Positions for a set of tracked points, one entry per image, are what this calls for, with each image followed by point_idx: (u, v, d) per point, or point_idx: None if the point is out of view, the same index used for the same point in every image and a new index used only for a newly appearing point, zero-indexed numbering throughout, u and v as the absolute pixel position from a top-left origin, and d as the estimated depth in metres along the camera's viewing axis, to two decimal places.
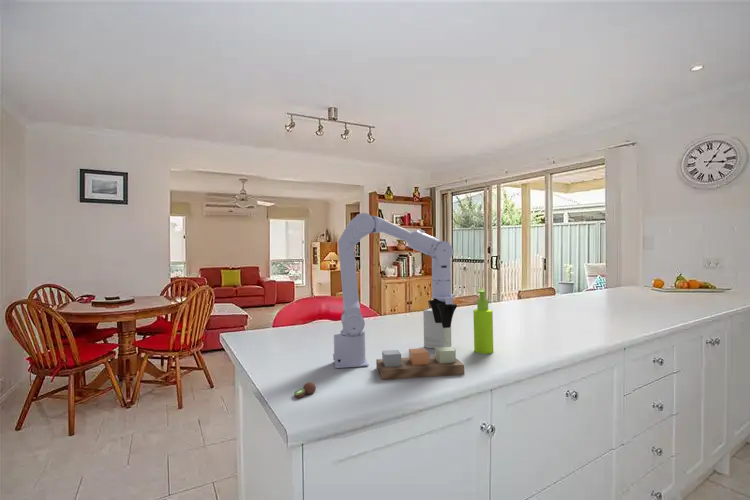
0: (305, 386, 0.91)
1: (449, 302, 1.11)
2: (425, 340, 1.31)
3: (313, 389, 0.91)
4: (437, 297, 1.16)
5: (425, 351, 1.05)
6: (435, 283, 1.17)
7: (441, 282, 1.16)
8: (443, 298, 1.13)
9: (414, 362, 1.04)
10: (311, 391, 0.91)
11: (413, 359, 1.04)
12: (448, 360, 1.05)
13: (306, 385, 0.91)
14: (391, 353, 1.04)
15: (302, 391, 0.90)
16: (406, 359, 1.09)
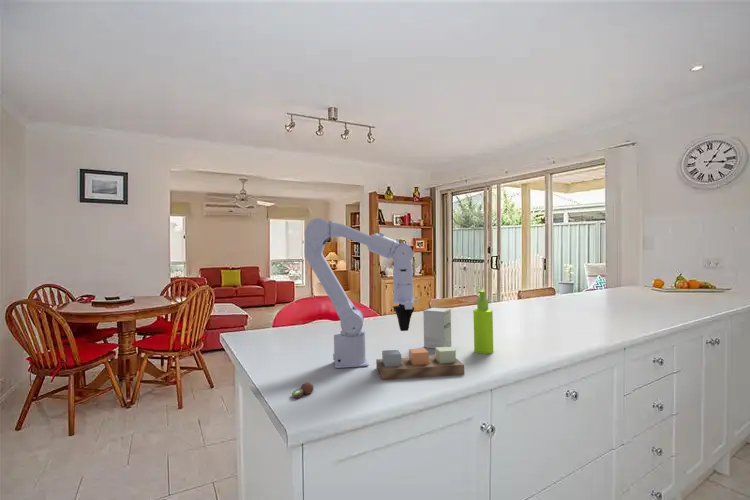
0: (303, 386, 0.91)
1: (408, 307, 1.08)
2: (425, 340, 1.31)
3: (311, 389, 0.91)
4: (397, 302, 1.12)
5: (425, 351, 1.05)
6: (396, 287, 1.13)
7: (402, 286, 1.12)
8: (403, 303, 1.09)
9: (414, 362, 1.04)
10: (309, 391, 0.91)
11: (413, 359, 1.04)
12: (448, 360, 1.05)
13: (304, 385, 0.91)
14: (391, 353, 1.04)
15: (300, 391, 0.90)
16: (406, 359, 1.09)
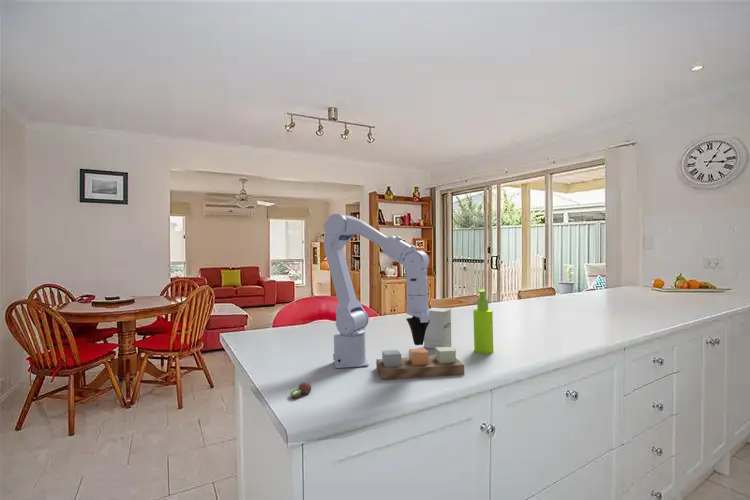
0: (301, 386, 0.91)
1: (424, 320, 0.99)
2: (425, 340, 1.31)
3: (309, 389, 0.91)
4: (412, 314, 1.03)
5: (425, 351, 1.05)
6: (410, 298, 1.05)
7: (416, 297, 1.04)
8: (418, 315, 1.01)
9: (414, 362, 1.04)
10: (307, 391, 0.91)
11: (413, 359, 1.04)
12: (448, 360, 1.05)
13: (302, 386, 0.91)
14: (391, 353, 1.04)
15: (298, 391, 0.89)
16: (406, 359, 1.09)
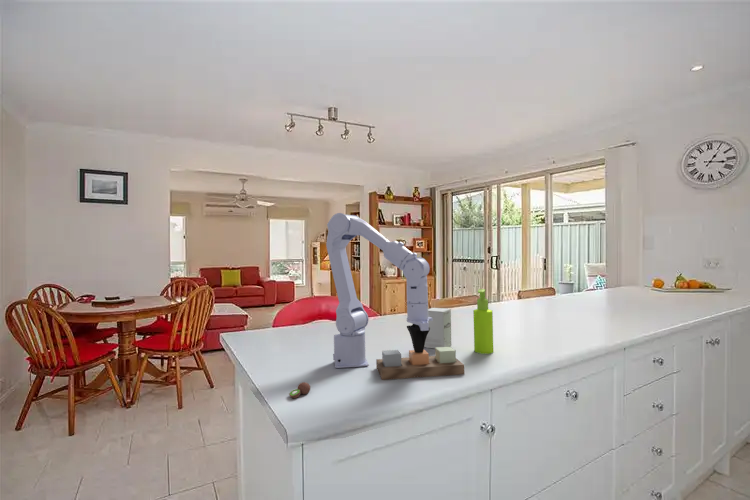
0: (300, 386, 0.91)
1: (424, 328, 0.99)
2: (425, 340, 1.31)
3: (308, 389, 0.91)
4: (412, 322, 1.03)
5: (425, 352, 1.05)
6: (410, 306, 1.05)
7: (416, 305, 1.04)
8: (418, 323, 1.01)
9: (414, 363, 1.04)
10: (306, 391, 0.91)
11: (413, 360, 1.04)
12: (448, 360, 1.05)
13: (301, 386, 0.91)
14: (391, 353, 1.04)
15: (297, 391, 0.89)
16: (406, 359, 1.09)
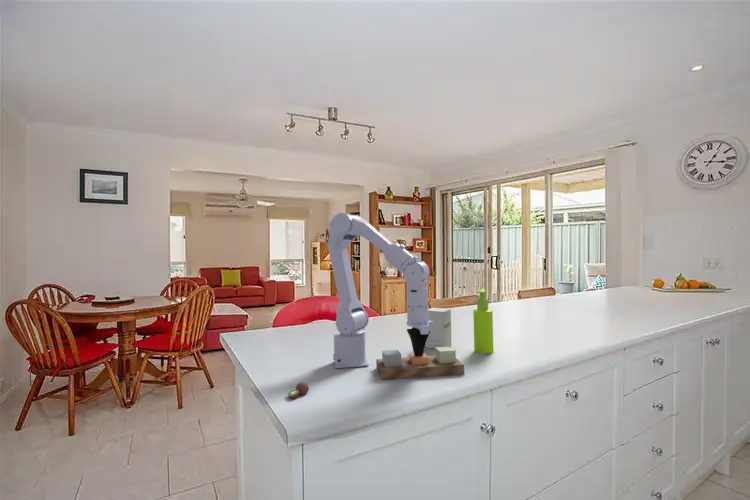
0: (298, 387, 0.91)
1: (424, 332, 0.99)
2: None
3: (307, 389, 0.91)
4: (412, 325, 1.03)
5: (425, 356, 1.05)
6: (410, 309, 1.05)
7: (416, 308, 1.04)
8: (418, 327, 1.01)
9: None
10: (305, 391, 0.91)
11: (413, 364, 1.04)
12: (448, 360, 1.05)
13: (299, 386, 0.91)
14: (391, 353, 1.04)
15: (296, 392, 0.89)
16: (406, 359, 1.09)
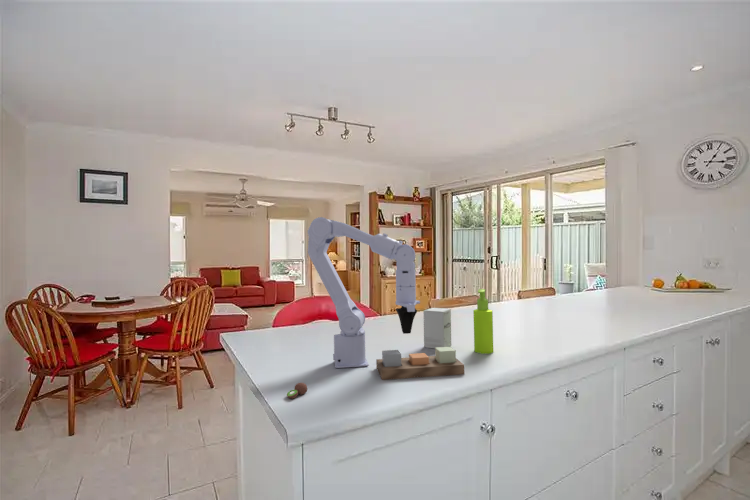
0: (297, 387, 0.91)
1: (411, 309, 1.06)
2: (425, 340, 1.31)
3: (305, 389, 0.91)
4: (400, 304, 1.10)
5: (425, 356, 1.05)
6: (398, 289, 1.11)
7: (404, 288, 1.10)
8: (405, 305, 1.08)
9: None
10: (303, 391, 0.91)
11: (413, 364, 1.04)
12: (448, 360, 1.05)
13: (298, 386, 0.91)
14: (391, 353, 1.04)
15: (295, 392, 0.89)
16: (406, 359, 1.09)
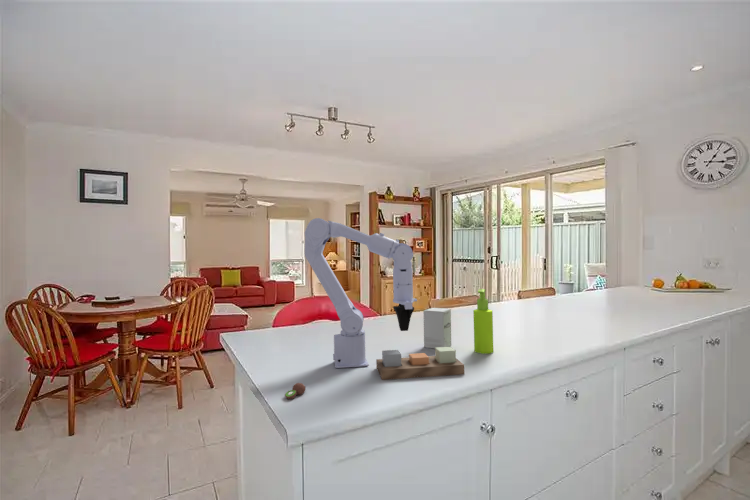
0: (295, 387, 0.91)
1: (408, 307, 1.08)
2: (425, 340, 1.31)
3: (304, 389, 0.91)
4: (397, 302, 1.12)
5: (425, 356, 1.05)
6: (396, 287, 1.13)
7: (401, 286, 1.12)
8: (403, 303, 1.09)
9: None
10: (302, 392, 0.91)
11: (413, 364, 1.04)
12: (448, 360, 1.05)
13: (296, 386, 0.91)
14: (391, 353, 1.04)
15: (293, 392, 0.89)
16: (406, 359, 1.09)
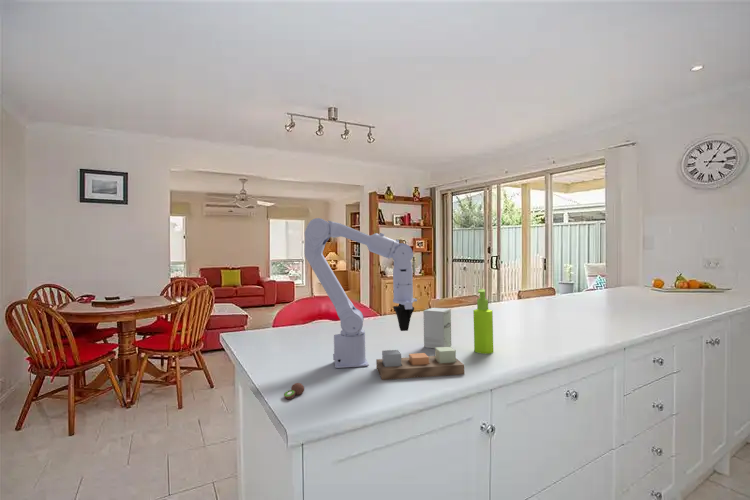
0: (294, 387, 0.91)
1: (408, 307, 1.08)
2: (425, 340, 1.31)
3: (302, 389, 0.91)
4: (397, 302, 1.12)
5: (425, 356, 1.05)
6: (396, 287, 1.13)
7: (401, 286, 1.12)
8: (403, 303, 1.09)
9: None
10: (301, 392, 0.91)
11: (413, 364, 1.04)
12: (448, 360, 1.05)
13: (295, 386, 0.91)
14: (391, 353, 1.04)
15: (292, 392, 0.89)
16: (406, 359, 1.09)
